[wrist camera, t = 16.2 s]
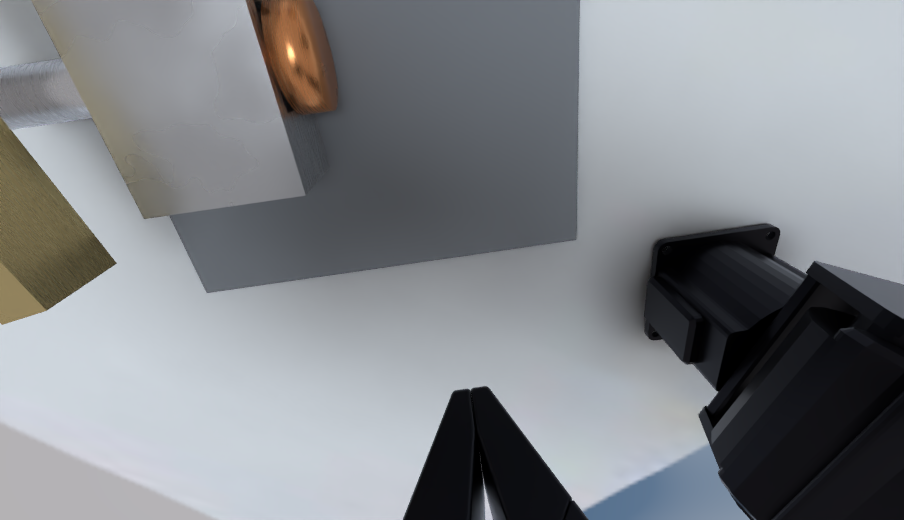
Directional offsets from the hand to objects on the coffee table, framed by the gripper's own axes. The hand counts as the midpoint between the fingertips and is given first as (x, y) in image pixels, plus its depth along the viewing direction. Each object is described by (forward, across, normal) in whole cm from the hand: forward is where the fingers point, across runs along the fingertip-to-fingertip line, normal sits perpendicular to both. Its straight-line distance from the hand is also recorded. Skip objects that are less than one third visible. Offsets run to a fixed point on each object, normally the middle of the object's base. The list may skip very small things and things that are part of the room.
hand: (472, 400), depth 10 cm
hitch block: (+12, +8, -8) cm, 16 cm away
